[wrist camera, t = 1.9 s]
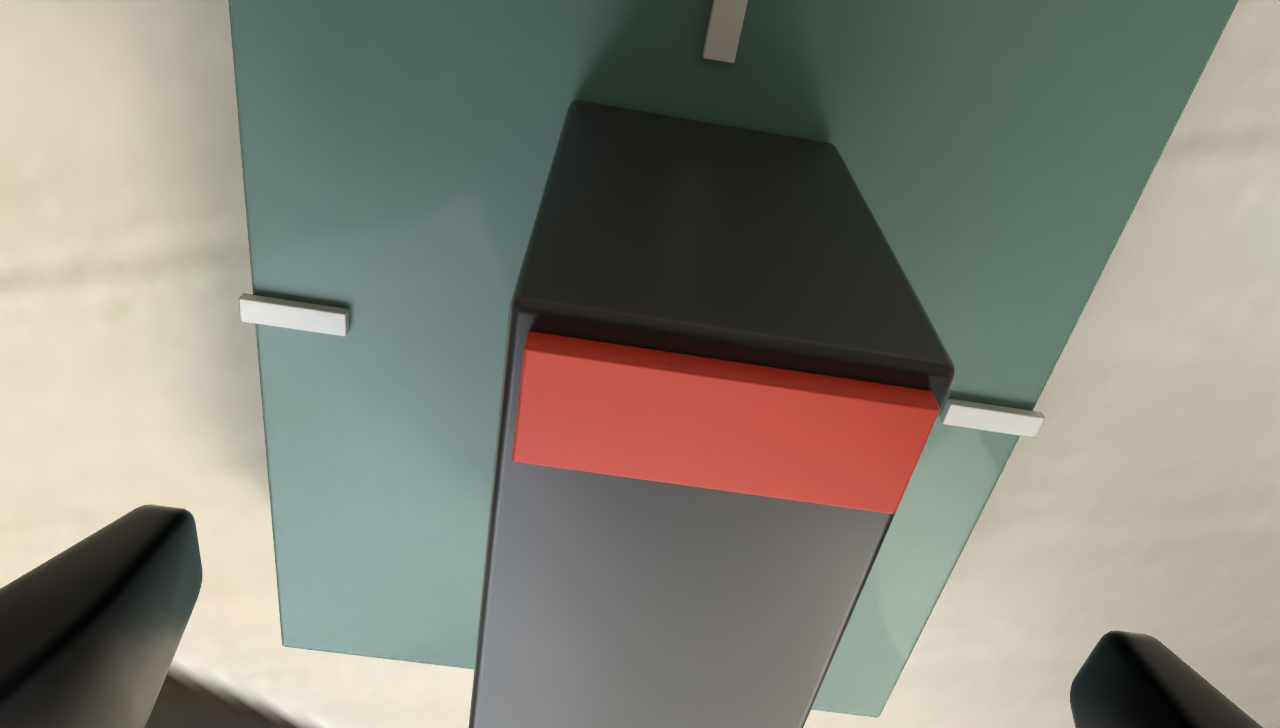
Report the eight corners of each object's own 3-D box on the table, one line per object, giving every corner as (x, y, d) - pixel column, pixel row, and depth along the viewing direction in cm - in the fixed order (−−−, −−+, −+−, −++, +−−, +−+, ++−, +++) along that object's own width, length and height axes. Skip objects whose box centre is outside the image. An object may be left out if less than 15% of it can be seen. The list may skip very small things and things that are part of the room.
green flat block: (858, 615, 18) (887, 727, 16) (320, 546, 18) (271, 654, 15) (1188, -140, 11) (1325, -126, 9) (282, -322, 10) (175, -361, 8)
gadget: (714, 561, 14) (742, 904, 10) (516, 535, 14) (452, 875, 9) (836, 142, 10) (974, 387, 6) (570, 97, 10) (503, 316, 6)
